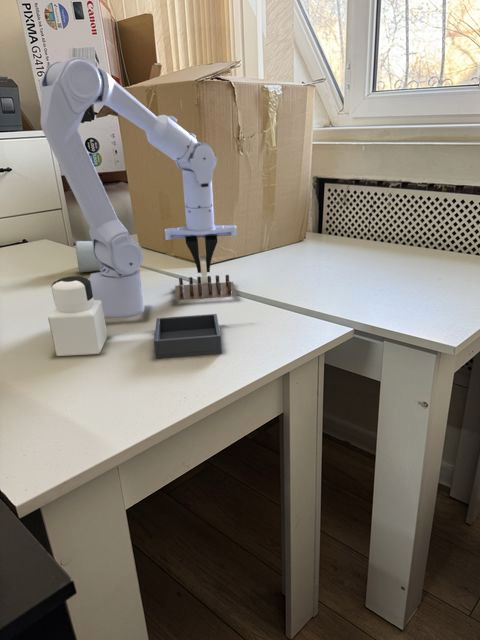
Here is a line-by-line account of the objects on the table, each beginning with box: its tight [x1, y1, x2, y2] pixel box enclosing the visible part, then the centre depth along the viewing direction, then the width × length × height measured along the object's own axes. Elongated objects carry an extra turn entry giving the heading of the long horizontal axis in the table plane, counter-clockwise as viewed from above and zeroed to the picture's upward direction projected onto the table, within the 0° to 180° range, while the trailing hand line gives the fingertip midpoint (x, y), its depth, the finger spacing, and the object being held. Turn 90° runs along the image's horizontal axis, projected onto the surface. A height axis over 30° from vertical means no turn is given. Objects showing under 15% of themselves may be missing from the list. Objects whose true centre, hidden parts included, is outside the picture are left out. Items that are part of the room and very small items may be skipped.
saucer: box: [199, 254, 208, 285], centre depth 108 cm, size 1×6×6 cm, turn 8°
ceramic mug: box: [75, 240, 101, 273], centre depth 128 cm, size 10×8×8 cm
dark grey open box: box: [153, 313, 223, 359], centre depth 87 cm, size 11×10×3 cm
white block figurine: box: [47, 275, 108, 357], centre depth 84 cm, size 7×7×12 cm
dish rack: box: [174, 274, 238, 301], centre depth 110 cm, size 13×10×3 cm
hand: (203, 271), depth 108 cm, fingers closed on saucer, 1 cm apart
